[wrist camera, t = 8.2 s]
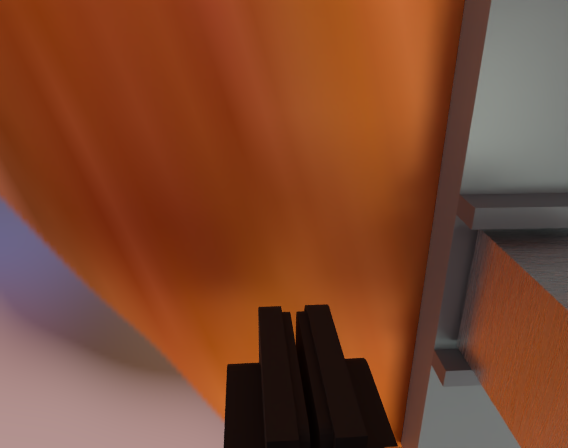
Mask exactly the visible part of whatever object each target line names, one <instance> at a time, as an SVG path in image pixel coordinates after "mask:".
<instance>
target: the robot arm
mask: <svg viewBox="0 0 568 448" xmlns="http://www.w3.org/2000/svg"><path fill="white" fill-rule="evenodd" d="M258 316H259V363H245V364H228V365H227V382H226V406H225V431H224V448H403V447H398V445H397V443H396V440H395V437H394V434H393V432H392V429H391V426H390V423H389V421H388V418H387V415H386V412H385V410H384V407H383V404H382V401H381V399H380V396H379V393H378V390H377V388H376V385H375V382H374V379H373V377H372V374H371V371H370V368H369V366H368V363H367V361H366V360H365V359H364V358H353V359H345V358H344V355H343V352H342V349H341V345H340V342H339V339H338V335H337V332H336V329H335V325H334V322H333V319H332V315H331V312H330V309H329V306H328V305H305V309H304V311H302V312H297V313H296V345H295V339H294V332H293V326H292V320H291V314H290V312H282V309H281V306H274V307H259V308H258Z"/></svg>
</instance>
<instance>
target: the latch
mask: <svg viewBox="0 0 568 448" xmlns="http://www.w3.org/2000/svg"><path fill="white" fill-rule="evenodd" d="M457 347H458V348H459V350H460V352H461V353H462V355H463V356H464V358H465V359H466V361H467V363H468V364H469V366H470V367H471V369H472V371H473V372H474V374H475V375H476V377H477V379H478V380H479V382H480V383H481V385H482V387H483V388H484V390H485V391H486V393H487V394H488V396H489V398H490V399H491V401H492V402H493V404H494V406H495V407H496V409H497V410H498V412H499V414H500V415H501V417H502V418H503V420H504V421H505V423H506V425H507V426H508V428H509V429H510V431H511V433H512V434H513V436H514V437H515V439H516V441H517V442H518V444H519V445H520V447H521V448H568V228H533V229H486V230H478V233H477V238H476V243H475V249H474V254H473V260H472V265H471V270H470V276H469V281H468V286H467V292H466V297H465V302H464V308H463V313H462V318H461V324H460V329H459V334H458V340H457Z"/></svg>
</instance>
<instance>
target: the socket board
mask: <svg viewBox="0 0 568 448" xmlns="http://www.w3.org/2000/svg"><path fill="white" fill-rule="evenodd" d="M533 228H568V0H465V5H464V11H463V18H462V25H461V32H460V39H459V46H458V53H457V60H456V67H455V74H454V80H453V87H452V94H451V101H450V108H449V115H448V122H447V129H446V136H445V143H444V150H443V156H442V163H441V170H440V177H439V184H438V191H437V198H436V205H435V212H434V219H433V225H432V232H431V239H430V246H429V253H428V260H427V267H426V274H425V281H424V288H423V294H422V301H421V308H420V315H419V322H418V329H417V336H416V343H415V350H414V357H413V363H412V370H411V377H410V384H409V391H408V398H407V405H406V412H405V419H404V426H403V432H402V439H401V445H402V447H403V448H521V447H520V445H519V444H518V442H517V441H516V439H515V437H514V436H513V434H512V433H511V431H510V429H509V428H508V426H507V425H506V423H505V421H504V420H503V418H502V417H501V415H500V414H499V412H498V410H497V409H496V407H495V406H494V404H493V402H492V401H491V399H490V398H489V396H488V394H487V393H486V391H485V390H484V388H483V387H482V385H481V383H480V382H479V380H478V379H477V377H476V375H475V374H474V372H473V371H472V369H471V367H470V366H469V364H468V363H467V361H466V359H465V358H464V356H463V355H462V353H461V352H460V350H459V348H458V347H457V340H458V334H459V329H460V324H461V318H462V313H463V308H464V302H465V297H466V292H467V286H468V281H469V276H470V270H471V265H472V260H473V254H474V249H475V243H476V238H477V233H478V230H486V229H533Z"/></svg>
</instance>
